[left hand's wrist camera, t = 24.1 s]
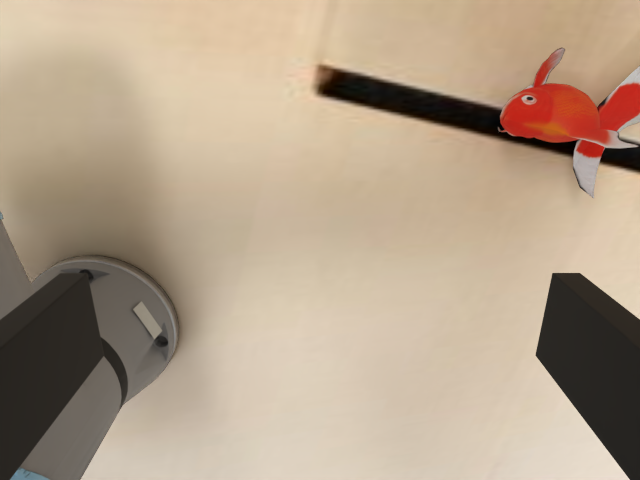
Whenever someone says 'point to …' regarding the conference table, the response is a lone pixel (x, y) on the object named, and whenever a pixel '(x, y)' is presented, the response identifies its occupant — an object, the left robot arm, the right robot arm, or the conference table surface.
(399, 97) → the conference table surface
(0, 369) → the left robot arm
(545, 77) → the fish
